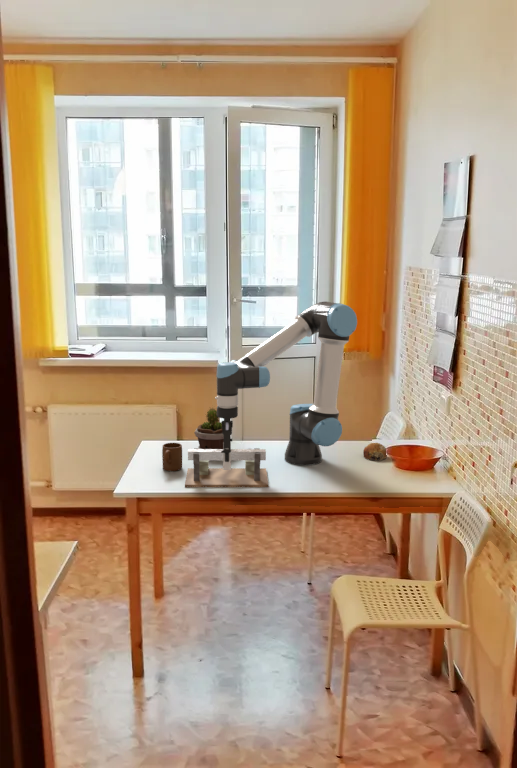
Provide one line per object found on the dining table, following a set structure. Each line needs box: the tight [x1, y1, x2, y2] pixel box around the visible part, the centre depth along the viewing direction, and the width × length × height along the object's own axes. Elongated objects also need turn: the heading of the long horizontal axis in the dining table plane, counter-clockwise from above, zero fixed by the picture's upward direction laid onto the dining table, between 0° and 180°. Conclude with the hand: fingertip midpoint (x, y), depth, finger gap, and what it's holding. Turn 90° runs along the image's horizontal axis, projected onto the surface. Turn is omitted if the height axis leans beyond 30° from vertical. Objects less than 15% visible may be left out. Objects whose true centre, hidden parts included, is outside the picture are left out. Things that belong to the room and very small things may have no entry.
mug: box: [161, 442, 183, 472], centre depth 253 cm, size 12×8×9 cm, turn 170°
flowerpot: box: [194, 406, 224, 449], centre depth 274 cm, size 14×15×20 cm
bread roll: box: [363, 442, 388, 461], centre depth 274 cm, size 10×10×8 cm
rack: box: [184, 447, 270, 488], centre depth 245 cm, size 30×18×12 cm, turn 92°
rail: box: [187, 448, 267, 461], centre depth 240 cm, size 28×3×3 cm, turn 92°
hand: (226, 464), depth 241 cm, fingers open, 11 cm apart
